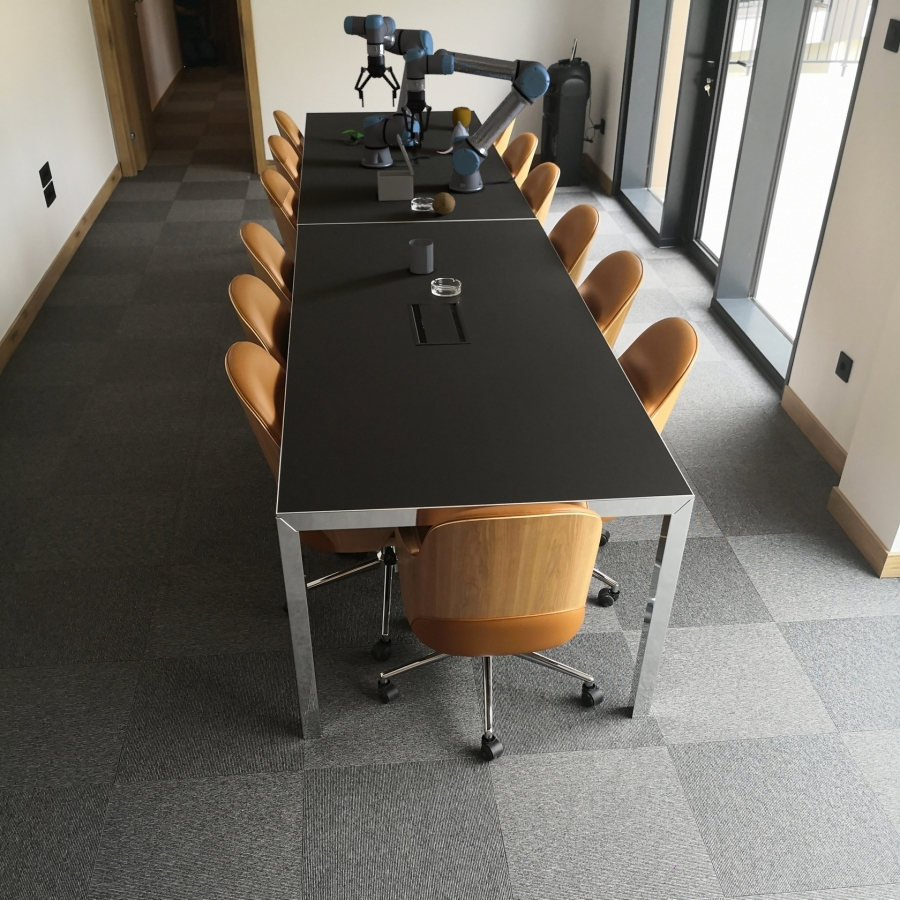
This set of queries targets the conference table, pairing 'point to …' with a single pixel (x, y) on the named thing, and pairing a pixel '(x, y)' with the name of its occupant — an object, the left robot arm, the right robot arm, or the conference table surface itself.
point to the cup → (421, 256)
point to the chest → (395, 185)
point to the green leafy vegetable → (354, 137)
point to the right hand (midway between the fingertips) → (417, 148)
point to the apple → (461, 116)
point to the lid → (405, 150)
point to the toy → (457, 131)
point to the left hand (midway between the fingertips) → (378, 106)
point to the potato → (443, 203)
